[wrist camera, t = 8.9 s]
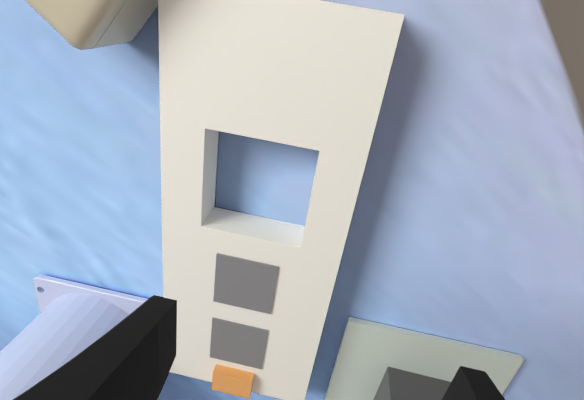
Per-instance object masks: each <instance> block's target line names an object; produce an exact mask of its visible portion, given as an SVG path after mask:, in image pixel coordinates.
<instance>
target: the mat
mask: <svg viewBox="0 0 584 400" xmlns="http://www.w3.org/2000/svg"><path fill="white" fill-rule="evenodd" d="M523 362H524V360H523V358H522V356H521V355H519V354H514V353H510V352H505V351H501V350H496V349H492V348H487V347H483V346H478V345H474V344H470V343H465V342H461V341H456V340H452V339H447V338H443V337H438V336H434V335H429V334H425V333H420V332H416V331H412V330H407V329H403V328H398V327H394V326H389V325H385V324H380V323H376V322H371V321H367V320H362V319H358V318H354V317H348V320H347V324H346V327H345V330H344V334H343V337H342V340H341V344H340V347H339V351H338V354H337V357H336V361H335V364H334V367H333V371H332V374H331V377H330V381H329V384H328V387H327V391H326V394H325V397H324V400H373V399H374V397H375V395H376V392H377V390H378V388H379V386H380V383H381V381H382V379H383V376H384V374H385V372H386V369H387V367H392V368H396V369H400V370H404V371H409V372H413V373H417V374H421V375H425V376H429V377H433V378H437V379H441V380H445V381H449V382H452V380H453V378H454V376H455V374H456V373H457V371H458V369H459V367H460V366H463V367H468V368H472V369H476V370H481V371H485V372H486V373H487V374H488V376H489V377H490V379H491V380H492V381H493V383H494V384H495V386H496V387H497V389H498V390H499V392H500V393H501V395H502V394H503V392H504V391H505V389H506V388H507V386H508V385H509V383H510V382H511V380H512V379H513V377H514V375H515V374H516V372H517V371H518V369H519V368H520V366H521V365H522V363H523Z"/></svg>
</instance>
